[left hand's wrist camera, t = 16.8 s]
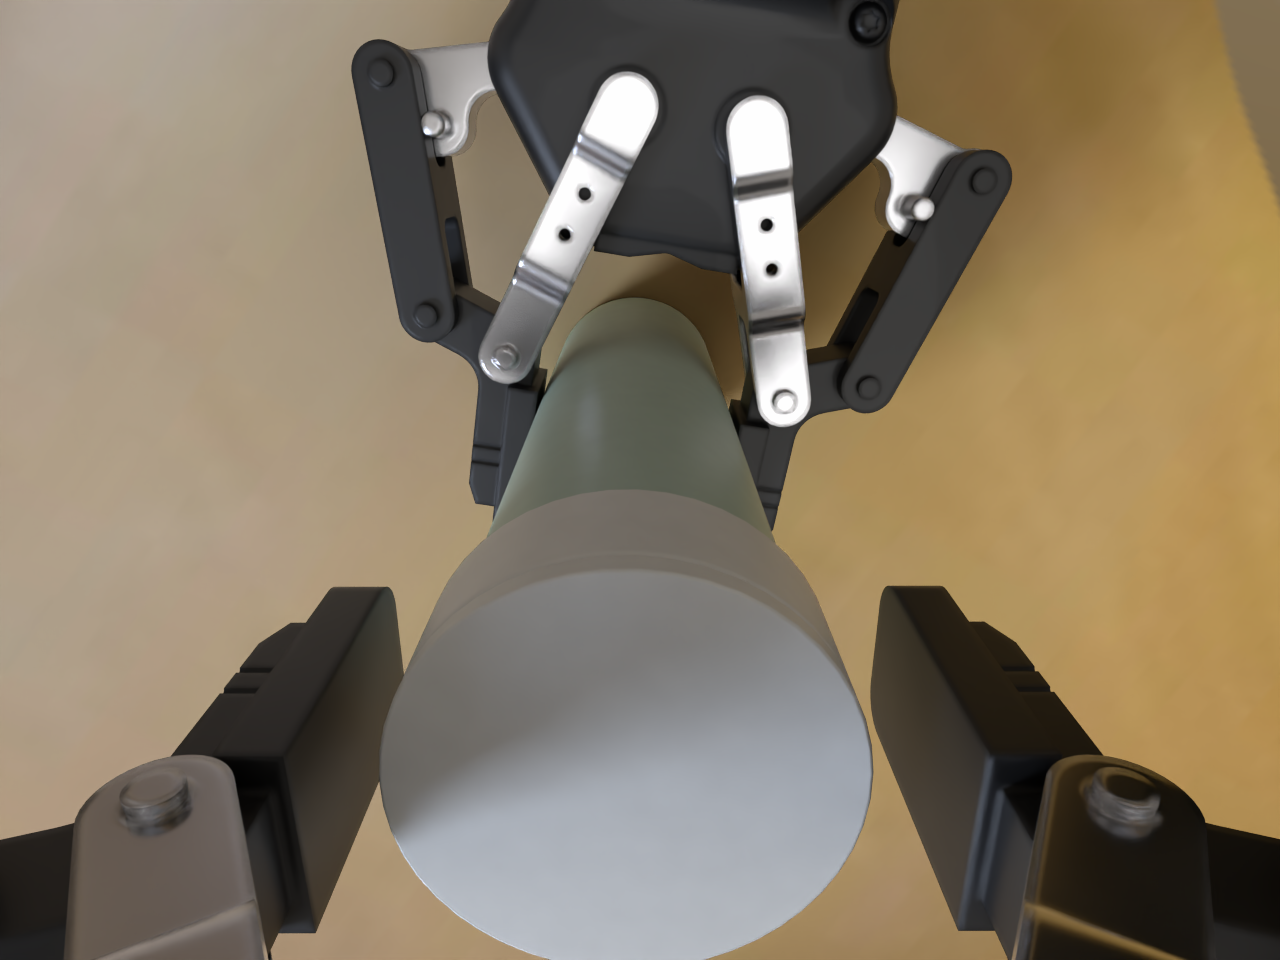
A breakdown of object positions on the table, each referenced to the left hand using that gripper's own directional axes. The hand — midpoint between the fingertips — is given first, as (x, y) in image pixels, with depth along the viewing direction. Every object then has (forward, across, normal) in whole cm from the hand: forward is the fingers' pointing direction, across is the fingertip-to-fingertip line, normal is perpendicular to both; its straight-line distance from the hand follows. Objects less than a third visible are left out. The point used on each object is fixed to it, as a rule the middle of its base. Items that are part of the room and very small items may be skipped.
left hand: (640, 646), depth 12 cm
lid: (-3, 0, 0) cm, 3 cm away
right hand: (+10, -1, -3) cm, 10 cm away
